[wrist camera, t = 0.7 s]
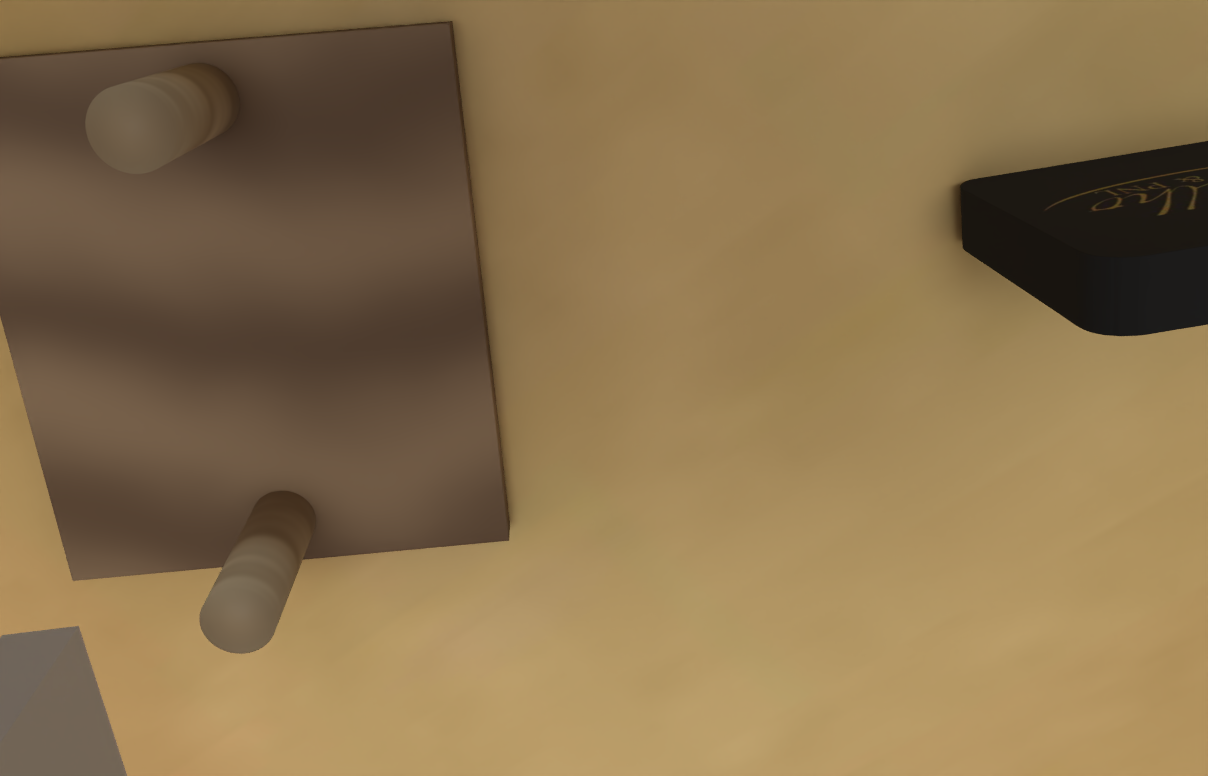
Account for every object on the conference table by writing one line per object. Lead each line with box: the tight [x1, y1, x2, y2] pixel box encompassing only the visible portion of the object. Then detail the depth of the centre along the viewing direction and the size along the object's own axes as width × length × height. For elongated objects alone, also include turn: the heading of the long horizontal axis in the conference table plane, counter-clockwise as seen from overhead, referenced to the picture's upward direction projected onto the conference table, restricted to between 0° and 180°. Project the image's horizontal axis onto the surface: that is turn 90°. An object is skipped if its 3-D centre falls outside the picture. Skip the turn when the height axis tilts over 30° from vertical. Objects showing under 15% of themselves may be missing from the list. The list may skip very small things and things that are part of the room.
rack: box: [0, 21, 510, 653], centre depth 31 cm, size 16×14×7 cm
